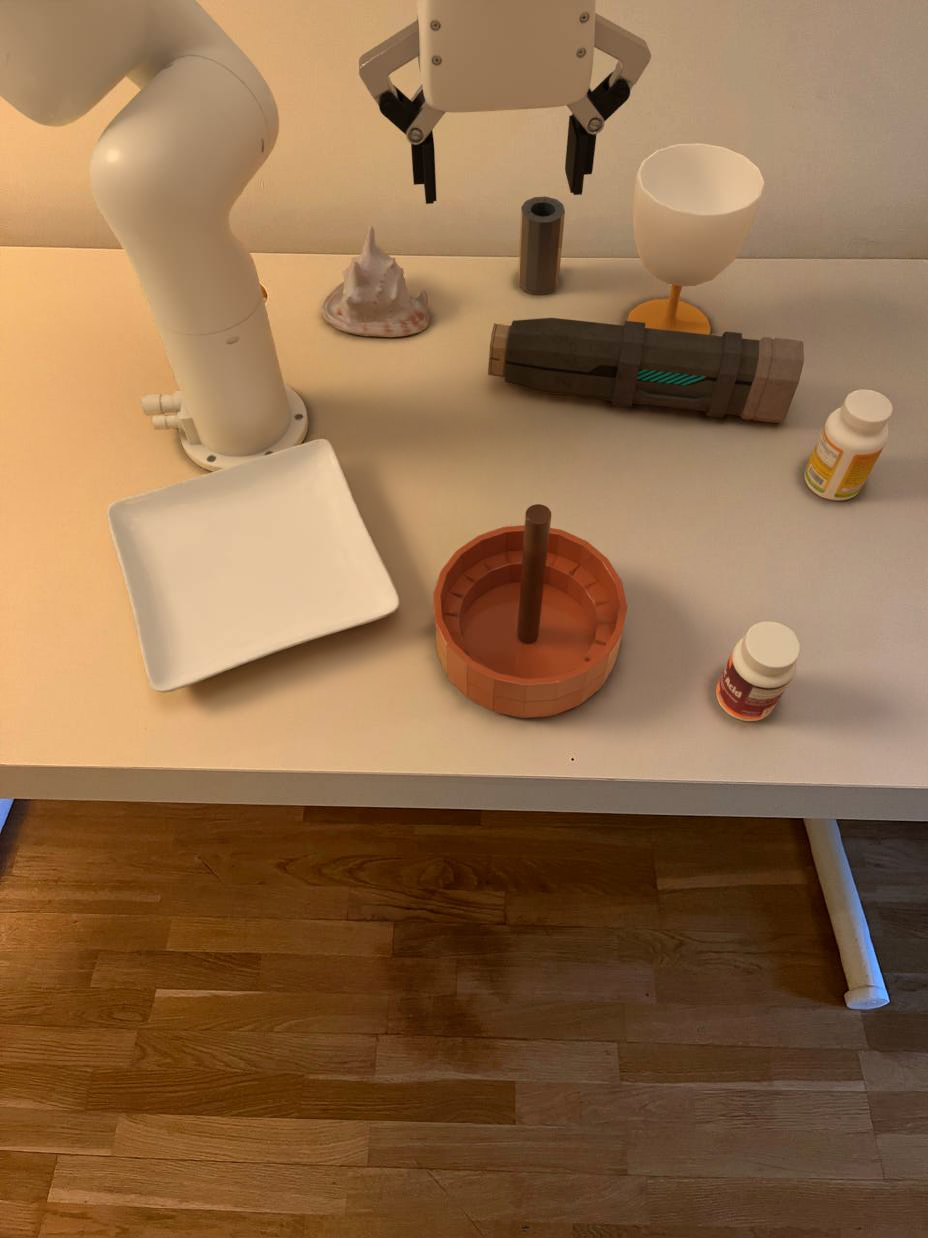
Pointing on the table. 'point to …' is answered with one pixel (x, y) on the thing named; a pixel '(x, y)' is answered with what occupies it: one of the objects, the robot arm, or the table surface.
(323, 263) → the table surface
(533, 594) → the stick
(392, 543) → the table surface
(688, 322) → the cup
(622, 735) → the table surface
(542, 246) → the holder
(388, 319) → the seashell
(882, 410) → the supplement bottle
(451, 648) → the bowl
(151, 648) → the salad plate
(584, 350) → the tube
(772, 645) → the pill bottle
